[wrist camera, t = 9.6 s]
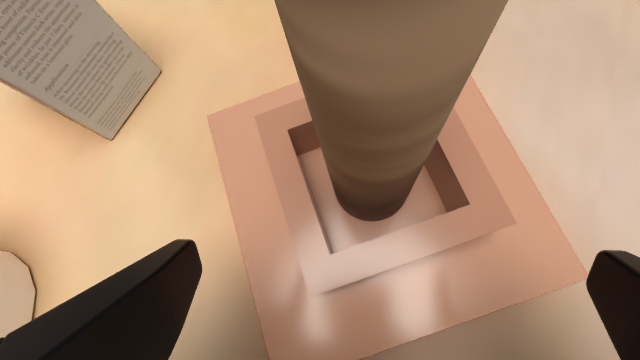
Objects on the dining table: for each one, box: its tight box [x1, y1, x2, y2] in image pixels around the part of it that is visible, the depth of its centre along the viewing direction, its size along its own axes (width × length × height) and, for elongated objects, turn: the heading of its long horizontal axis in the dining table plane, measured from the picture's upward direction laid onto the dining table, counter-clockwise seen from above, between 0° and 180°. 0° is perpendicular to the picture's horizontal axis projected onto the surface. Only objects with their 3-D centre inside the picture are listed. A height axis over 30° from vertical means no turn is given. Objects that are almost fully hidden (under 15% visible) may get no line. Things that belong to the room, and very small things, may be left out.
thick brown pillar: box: [275, 0, 508, 221], centre depth 10 cm, size 4×4×13 cm
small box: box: [0, 0, 161, 140], centre depth 16 cm, size 8×6×10 cm
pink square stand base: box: [207, 75, 588, 360], centre depth 15 cm, size 14×14×4 cm
